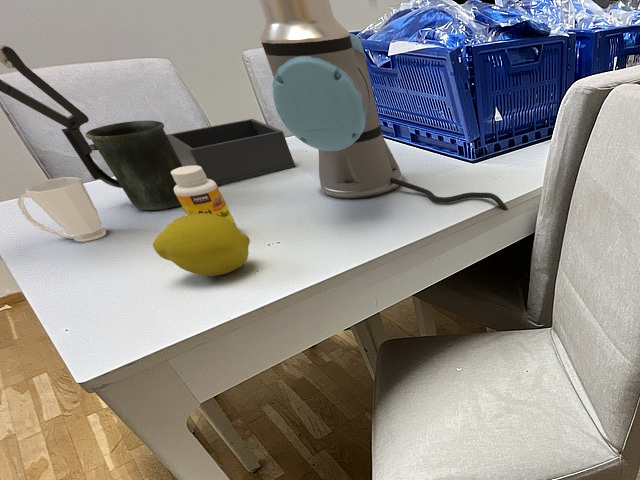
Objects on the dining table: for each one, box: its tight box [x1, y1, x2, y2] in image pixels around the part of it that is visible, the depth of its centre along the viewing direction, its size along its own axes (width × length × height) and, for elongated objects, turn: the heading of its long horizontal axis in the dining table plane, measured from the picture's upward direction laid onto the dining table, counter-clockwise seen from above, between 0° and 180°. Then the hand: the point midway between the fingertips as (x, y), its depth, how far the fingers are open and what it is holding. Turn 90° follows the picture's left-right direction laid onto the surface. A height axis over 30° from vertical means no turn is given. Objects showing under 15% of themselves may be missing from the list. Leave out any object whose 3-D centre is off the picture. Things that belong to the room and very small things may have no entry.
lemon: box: [152, 213, 251, 277], centre depth 60 cm, size 11×8×8 cm
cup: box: [17, 176, 107, 243], centre depth 70 cm, size 7×10×8 cm
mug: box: [84, 120, 183, 211], centre depth 79 cm, size 11×15×12 cm
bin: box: [166, 118, 296, 187], centre depth 94 cm, size 17×18×7 cm
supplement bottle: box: [171, 165, 237, 226], centre depth 67 cm, size 6×6×10 cm
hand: (42, 188), depth 67 cm, fingers open, 13 cm apart
